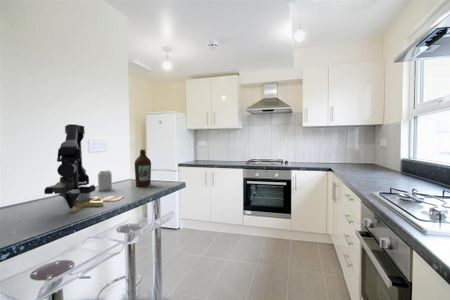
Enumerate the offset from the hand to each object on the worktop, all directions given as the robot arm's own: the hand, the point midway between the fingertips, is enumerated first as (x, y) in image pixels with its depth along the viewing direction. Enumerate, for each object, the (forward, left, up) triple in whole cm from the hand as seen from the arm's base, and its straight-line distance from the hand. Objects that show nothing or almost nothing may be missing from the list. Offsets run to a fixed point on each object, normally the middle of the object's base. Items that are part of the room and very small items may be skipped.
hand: (71, 208), depth 99 cm
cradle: (0, +12, -1) cm, 12 cm away
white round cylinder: (0, +10, -1) cm, 10 cm away
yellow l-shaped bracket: (+6, +3, -1) cm, 7 cm away
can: (-4, +42, -1) cm, 42 cm away
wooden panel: (+10, +19, -1) cm, 21 cm away
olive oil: (+17, +51, -1) cm, 54 cm away
